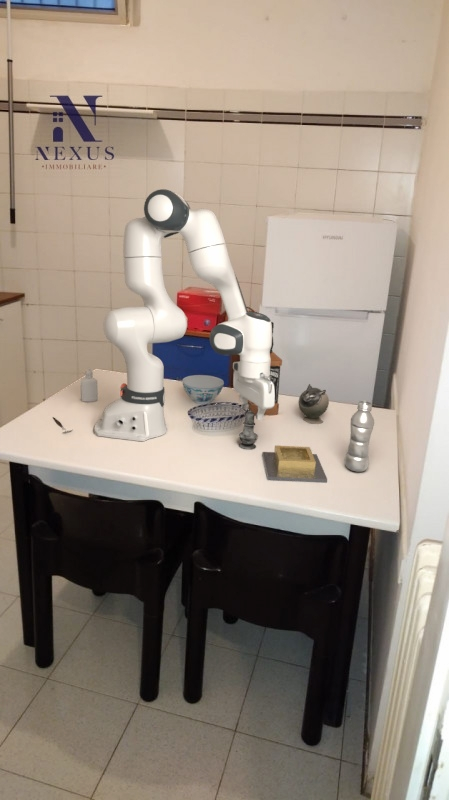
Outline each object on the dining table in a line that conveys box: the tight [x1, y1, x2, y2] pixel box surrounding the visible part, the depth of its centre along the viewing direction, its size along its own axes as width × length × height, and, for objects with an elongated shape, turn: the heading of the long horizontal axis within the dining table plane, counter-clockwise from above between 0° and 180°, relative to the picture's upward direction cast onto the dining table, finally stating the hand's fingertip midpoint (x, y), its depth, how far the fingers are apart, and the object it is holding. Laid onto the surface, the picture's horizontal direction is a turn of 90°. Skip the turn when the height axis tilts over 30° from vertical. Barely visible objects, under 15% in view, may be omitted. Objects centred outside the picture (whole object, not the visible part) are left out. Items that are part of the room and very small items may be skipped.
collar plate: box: [262, 445, 328, 484], centre depth 161 cm, size 16×16×4 cm
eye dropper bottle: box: [80, 367, 99, 403], centre depth 201 cm, size 4×6×12 cm
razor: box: [52, 417, 74, 434], centre depth 179 cm, size 3×16×2 cm, turn 33°
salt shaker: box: [238, 409, 259, 451], centre depth 172 cm, size 6×6×12 cm
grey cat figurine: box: [298, 383, 330, 425], centre depth 197 cm, size 10×12×10 cm
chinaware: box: [182, 374, 225, 405], centre depth 209 cm, size 15×15×8 cm
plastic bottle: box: [344, 400, 375, 473], centre depth 160 cm, size 6×7×20 cm
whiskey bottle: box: [247, 321, 283, 416], centre depth 199 cm, size 10×10×32 cm
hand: (252, 414), depth 170 cm, fingers open, 8 cm apart
